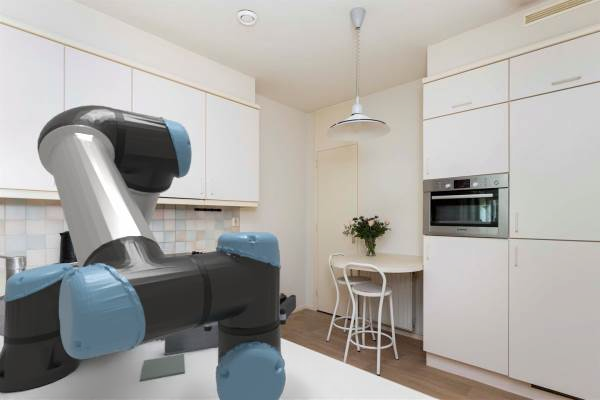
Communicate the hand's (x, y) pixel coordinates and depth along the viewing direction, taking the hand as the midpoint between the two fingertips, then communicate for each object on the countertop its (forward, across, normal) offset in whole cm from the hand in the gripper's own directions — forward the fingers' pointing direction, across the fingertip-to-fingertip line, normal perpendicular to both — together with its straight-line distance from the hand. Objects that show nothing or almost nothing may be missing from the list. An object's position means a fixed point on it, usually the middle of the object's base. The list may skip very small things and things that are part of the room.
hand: (243, 294), depth 68 cm
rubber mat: (+8, -18, -18) cm, 26 cm away
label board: (+17, -8, -18) cm, 26 cm away
